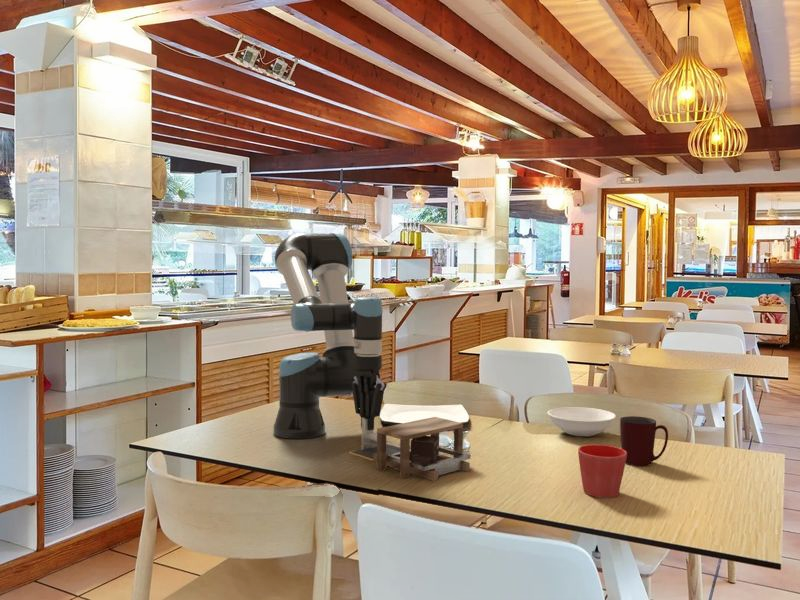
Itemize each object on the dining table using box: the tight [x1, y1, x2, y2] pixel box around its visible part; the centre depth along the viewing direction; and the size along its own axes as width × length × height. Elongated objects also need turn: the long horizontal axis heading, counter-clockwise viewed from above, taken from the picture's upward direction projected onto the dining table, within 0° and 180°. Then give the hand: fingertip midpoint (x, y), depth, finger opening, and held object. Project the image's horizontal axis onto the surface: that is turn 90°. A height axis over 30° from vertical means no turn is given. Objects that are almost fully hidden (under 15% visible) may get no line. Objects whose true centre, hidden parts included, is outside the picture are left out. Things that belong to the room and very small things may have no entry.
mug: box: [619, 415, 669, 467], centre depth 194 cm, size 12×9×11 cm
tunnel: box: [373, 417, 471, 482], centre depth 190 cm, size 22×20×10 cm
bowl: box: [547, 406, 617, 437], centre depth 225 cm, size 20×20×6 cm
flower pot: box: [577, 444, 627, 499], centre depth 170 cm, size 11×11×10 cm
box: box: [410, 435, 438, 465], centre depth 189 cm, size 6×6×7 cm
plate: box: [379, 403, 470, 426], centre depth 243 cm, size 29×29×3 cm
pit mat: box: [347, 447, 400, 462], centre depth 202 cm, size 10×12×1 cm
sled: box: [360, 430, 471, 476], centre depth 194 cm, size 29×16×5 cm, turn 43°
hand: (367, 441), depth 205 cm, fingers closed
